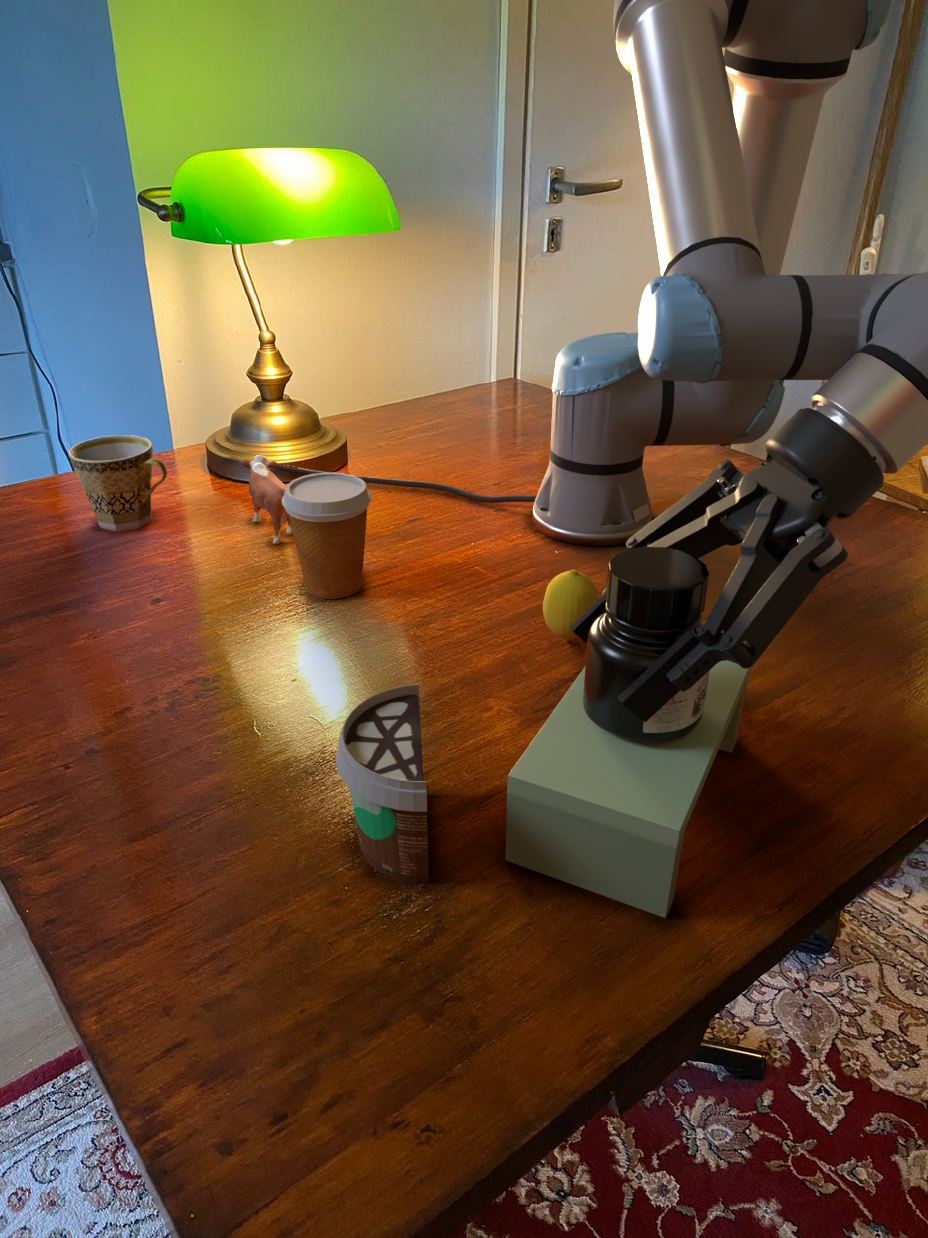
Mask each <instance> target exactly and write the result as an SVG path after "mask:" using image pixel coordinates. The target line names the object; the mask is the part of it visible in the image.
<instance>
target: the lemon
mask: <svg viewBox="0 0 928 1238" xmlns="http://www.w3.org/2000/svg"><path fill="white" fill-rule="evenodd" d="M598 598H599V595H598V590H597V587H596V585H595V583H594V582H593V580H592V579H591V578H590V577H588V575H586V574H585V573H582V572H579V571H578V570H577V569H570V570H566V571H564V572H561V573H559V574H558V575H555V576H554V578H552V579H551V580H550V581H549V583H548V585H547V588H546V590H545V594H544V597H543V602H542V613H543V617H544V621H545V624H546V626H547V627H548V629H549V630H550V631H551V632H552V633H553V634H554V635H555V636H557V637H558V638H559V637H560V638H562V639H564V640H565V641H567V642H572V641H573V640H575V639H578V638H579V639H580V637H578V636H577V635H576V634H575V633H574V632H572V630H571V629H570V626H571V625H572V624H573V623H574V622H575V621H576V620H577V619H578V618H579V617H580V616H581V615H582V614H583V613H584V612H585V611H586V610H587V609H588V608H589V607H590V606H591V605H592V604H593V603H594V602H595V601H596V600H597V599H598Z"/></svg>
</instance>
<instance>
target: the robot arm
mask: <svg viewBox="0 0 928 1238" xmlns="http://www.w3.org/2000/svg"><path fill="white" fill-rule="evenodd" d="M892 3H893V0H614V5H613V7H614V8H613V19H612V20H613V21H612V22H613V33H614V40H615V48H616V53H617V56H618V59H619V61H620V63H621V65H622V66H623V68H624V69H625V70H626V71H627V72H628V73H629V74H630V75H631V76H632V84H633V91H634V97H635V103H636V104H635V105H636V110H637V117H638V118H637V119H638V125H639V132H640V138H641V147H642V152H643V157H644V158H643V159H644V160H643V161H644V165H645V172H646V177H647V178H646V179H647V180H646V181H647V186H648V194H649V200H650V207H651V213H652V220H653V221H652V222H653V227H654V234H655V240H656V241H655V242H656V248H657V253H658V254H657V255H658V262H659V268H660V269H659V270H660V275H661V276H656V277H654V278H653V279H651V280H650V281H649V282H648V283H647V284H646V286H645V288H644V291H643V292H642V295H641V298H640V299H641V300H640V303H639V310H638V318H637V331H638V332H630V333H627V332H625V331H624V332H623V331H622V332H619V331H618V332H608V333H600V334H595V335H590V336H586V337H582V338H579V339H576V340H573V341H572V342H570V343H568V344H566V345H565V346H564V347H563V348H562V349H561V350H559V352H558V354H557V356H556V359H555V362H554V363H555V364H554V373H553V378H552V379H553V381H552V383H551V392H552V406H551V407H552V410H551V430H550V431H551V432H550V445H549V446H550V447H549V448H550V449H549V462H548V466H547V469H546V471H545V474H544V477H543V479H542V481H541V484H540V486H539V489H538V492H537V494H535V495H530V494H529V495H528V494H527V495H526V494H525V495H523V494H522V495H519V494H518V495H517V494H516V495H515V494H513V495H511V494H510V495H483V494H478V493H474V492H470V491H467V490H464V489H461V488H458V487H456V486H452V485H449V484H442V483H437V482H429V481H420V480H419V481H418V480H417V481H416V480H407V479H394V478H383V477H374V476H363V475H362V476H361V475H355V476H356V477H358V478H360V479H362V480H363V481H364V482H365V484H372V485H384V486H394V487H404V488H405V487H406V488H418V489H429V490H436V491H441V492H446V493H451V494H454V495H457V496H460V497H461V498H465V499H468V500H472V501H476V502H481V503H489V504H491V503H492V504H497V503H533V507H532V523H533V524H534V527H536V529H537V530H539V531H540V532H541V533H542V534H544V535H546V536H548V537H550V538H552V539H554V540H556V541H557V540H558V541H560V542H564V543H568V544H573V545H579V546H589V547H606V546H617V545H622V544H625V547H626V549H632V548H638V547H643V546H646V547H665V548H669V549H675V550H681V551H683V552H685V553H688V554H690V555H693V556H696V557H697V558H698V559H699V560H700V558H703V557H705V556H706V555H708V554H710V553H712V552H715V551H717V550H718V549H720V548H722V547H724V546H731V547H735V546H737V545H739V544H741V545H740V552H741V556H740V557H739V559H738V561H737V563H736V565H735V567H734V569H733V571H732V573H731V575H730V576H729V578H728V580H727V581H726V584H725V585H724V587H723V589H722V591H721V592H720V595H719V596H718V598H717V600H716V602H715V604H714V606H713V608H712V609H711V611H710V613H709V615H708V617H707V619H706V620H705V623H704V624H703V625H704V626H703V628H697V627H696V628H695V627H693V629H692V633H693V634H692V633H691V632H690V631H689V630H688V631H687V632H686V633H685V634H684V635H683V636H682V637H681V638H680V639H679V640H678V641H677V642H675V643H674V644H673V645H672V646H671V647H670V648H669V649H668V650H667V651H666V652H665V653H664V654H663V655H662V656H661V657H660V658H659V659H657V660H656V661H655V662H654V663H653V664H652V665H651V666H650V667H649V668H648V669H647V670H646V671H645V672H644V673H643V674H642V675H640V676H639V677H638V678H637V679H636V680H635V681H634V682H633V683H632V684H631V685H630V686H629V687H628V688H627V689H626V690H625V691H624V692H622V693H621V694H620V695H619V696H618V699H619V700H620V702H621V703H622V704H623V705H624V706H625V707H627V708H628V709H629V710H630V711H632V712H633V713H634V714H635V715H637V716H638V717H639V718H640V719H642V720H643V721H644V722H645V723H646V722H647V721H648V720H649V719H650V718H651V717H652V716H653V715H654V714H655V713H656V712H657V711H658V710H660V709H661V708H662V707H663V706H664V705H665V704H666V703H667V702H668V701H669V700H670V699H671V698H673V697H674V696H675V695H676V694H677V693H678V692H679V691H680V690H681V691H682V692H684V691H686V690H688V689H690V688H691V687H692V686H693V685H694V684H695V683H696V682H698V681H699V680H700V678H702V677H703V676H704V675H705V674H706V673H707V672H708V671H709V670H711V669H712V668H713V667H714V666H715V665H716V664H717V663H719V662H720V661H726V660H727V661H731V662H733V663H736V664H738V665H740V666H741V667H742V668H744V669H747V668H750V669H751V667H753V666H754V665H755V664H756V662H757V661H758V660H759V659H760V658H761V656H762V655H763V654H764V653H765V651H766V650H767V648H769V647H770V645H771V643H772V642H773V641H774V640H775V638H776V637H777V636H778V635H779V633H780V632H781V631H782V630H783V628H784V627H785V626H786V625H787V623H788V622H789V621H790V620H791V618H792V617H793V616H794V614H795V613H796V612H797V611H798V609H799V608H800V607H801V605H802V604H803V603H804V601H806V599H807V598H808V597H809V596H810V594H811V593H812V591H813V590H815V588H816V587H817V585H818V584H819V583H820V581H821V580H822V579H824V577H826V576H827V575H828V574H830V573H831V572H833V571H834V570H835V569H836V568H838V567H839V566H840V565H842V564H843V563H844V562H845V561H846V560H847V558H848V556H849V553H848V550H847V549H846V548H845V546H844V545H843V544H842V543H841V542H840V541H839V540H838V538H837V537H836V536H835V535H834V534H833V533H832V531H831V530H830V529H829V525H830V523H831V522H832V520H833V519H834V518H836V519H840V520H844V519H848V518H850V517H851V516H853V515H854V513H856V512H857V511H858V510H859V509H860V508H861V507H862V506H864V504H865V503H867V501H868V500H870V499H871V498H872V497H873V496H874V495H875V494H876V493H878V491H879V490H880V489H881V488H883V487H884V481H885V476H884V474H886V475H888V474H889V475H890V474H891V475H892V474H897V473H898V472H900V470H901V469H902V468H903V467H904V466H905V465H906V464H907V463H909V462H910V461H911V460H912V459H913V458H914V457H915V456H916V455H917V454H918V453H919V452H920V451H921V450H922V449H923V448H925V447H926V445H928V271H924V272H920V273H919V272H918V273H885V272H884V273H882V274H881V273H879V274H874V273H866V274H814V275H813V274H812V275H810V274H808V275H807V274H806V275H800V274H781V272H782V269H783V264H784V261H785V256H786V253H787V249H788V248H787V247H788V245H789V240H790V236H791V231H792V228H793V224H794V221H795V215H796V212H797V208H798V204H799V200H800V196H801V192H802V187H803V184H804V179H805V175H806V171H807V166H808V163H809V159H810V155H811V151H812V147H813V143H814V139H815V135H816V130H817V127H818V123H819V120H820V119H819V118H820V114H821V110H822V106H823V102H824V98H825V95H826V94H827V93H828V91H829V90H830V89H831V88H832V87H833V86H835V85H836V84H838V83H839V82H840V81H842V80H843V79H844V78H845V77H846V76H847V73H848V69H849V66H850V63H851V58H852V54H853V52H854V51H861V50H863V49H864V48H866V47H869V46H871V45H872V44H873V43H874V42H875V41H876V40H877V39H878V37H879V36H880V33H881V29H882V28H883V27H884V26H885V24H886V22H887V19H888V17H889V14H890V10H891V7H892ZM723 49H724V52H723ZM729 79H730V81H731V82H732V84H733V93H731V89H730V83H729ZM785 381H826V382H825V383H824V384H822V386H820V387H819V389H817V390H816V392H814V393H813V394H812V395H811V404H810V406H811V407H812V408H811V407H805V408H799V409H798V410H797V411H796V412H795V413H794V414H793V415H792V416H791V417H790V418H789V419H788V420H787V421H786V422H785V423H784V424H783V425H782V426H781V427H779V429H778V430H777V431H775V433H773V434H772V436H771V437H769V439H767V441H766V442H765V451H766V458H765V460H764V461H763V462H762V463H761V464H759V465H758V466H756V467H755V468H753V469H750V470H749V471H747V472H745V471H742V470H741V469H738V466H736V465H735V464H734V463H733V461H732V460H730V459H724V460H722V461H721V462H720V463H719V464H718V465H716V467H715V468H714V469H713V470H712V471H711V472H710V473H709V475H708V476H707V477H706V478H705V479H704V481H702V482H701V483H700V484H698V485H697V486H696V487H694V488H693V489H692V490H690V491H689V492H687V494H685V495H684V496H682V497H681V498H680V499H678V500H677V501H676V502H675V503H674V504H672V505H671V506H669V508H667V509H666V510H664V511H663V512H662V513H660V514H659V515H658V516H656V517H655V518H654V519H653V520H652V516H653V511H652V506H651V501H650V496H649V492H648V488H647V484H646V478H645V475H644V470H643V465H644V464H643V463H644V455H645V450H646V447H670V446H672V447H675V446H677V447H678V446H717V447H729V446H732V445H743V444H744V445H745V444H751V443H754V442H755V441H757V440H759V439H761V438H763V437H764V436H765V435H766V434H767V433H768V432H769V431H770V429H771V428H772V426H773V425H774V423H775V421H776V419H777V418H778V415H779V412H780V410H781V407H782V404H783V401H784V396H785V392H786V387H785V385H784V383H785ZM297 468H298V469H295V468H290V467H285V466H281V465H277V467H275V468H273V470H274V469H275V470H279V471H282V472H288V473H293V474H297V475H303V476H306V475H311V474H317V473H330V472H328V471H321V470H314V469H308V468H304V467H303V468H302V467H297ZM647 543H649V544H647ZM605 598H606V587H604V590H603V591H602V593H601V595H600V596H598V599H597V600H596V601H595V602H594V603H593V604H592V605H591V606H590V607H589V608H588V609H587V610H586V611H585V612H584V613H583V614H582V615H581V616H580V617H579V618H578V619H577V620H576V621H575V622H574V623H573V624H572V625H571V626H570V629H571V630H572V632H574V633H575V634H576V635H577V636H578V637H579V639H581V640H582V641H583V642H584V643H586V644H587V640H588V633H589V630H590V628H591V626H592V624H593V623H594V621H595V620H596V619H597V618H598V617H599V616H601V615H602V614H603V613H605V612H606V611H605V605H606V599H605ZM744 642H746V643H744Z"/></svg>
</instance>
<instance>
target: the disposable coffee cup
mask: <svg viewBox="0 0 928 1238" xmlns="http://www.w3.org/2000/svg"><path fill="white" fill-rule="evenodd" d="M356 476H357V475H353V474H349V473H343V472H329V473H317V474H311V475H303V476H300V477H298V478H294V479H293V480H291V481H290V482H289V483H287V484H286V488H285V495H284V496H283V498H282V505H283V506H284V508H285V509H286V512H287V513H288V516H289V519H290V524H291V528H292V532H293V534H292V536H293V540H294V544H295V548H296V552H297V556H298V561H299V565H300V569H301V573H302V577H303V581H304V586H305V590H306V592H307V593H308V594H309V595H311V596H313V597H315V598H319V599H326V600H335V599H337V600H338V599H343V598H347V597H350V596H352V595H354V594H356V593H357V592H359V590H361V588H362V585H363V572H364V560H365V546H366V545H365V544H366V532H367V520H368V519H367V518H368V508H369V507H370V506H369V505H370V503H371V500H372V494H371V492H370V491H369V490H368V488H367V483H365V482H364V481H363V480H362V479H360V478H358V477H356Z"/></svg>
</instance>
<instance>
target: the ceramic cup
mask: <svg viewBox="0 0 928 1238" xmlns="http://www.w3.org/2000/svg"><path fill="white" fill-rule="evenodd" d="M153 447H154V446H153V442H152V441H151V440H150V439H149V438H146V437H145V436H144V437H143V436H139V435H131V434H113V435H104V436H98V437H94V438H90V439H87V440H83V441H81V442H78V443H76V444H75V445H73V446H72V447H70V449H69V450H68V452H67V454H68V457H69V460H70V462H71V465H72V468H73V470H74V471H75V474H76V477H77V479H78V481H79V483H80V485H81V486H82V489H83V490H84V492H85V494H86V497H87V500H88V502H89V504H90V507H91V509H92V512H93V514H94V517H95V519H96V521H97V523H98V526H99V527H100V528H101V529H104V530H108V531H113V532H122V531H129V530H135V529H140V528H141V527H143V526H146V525H147V524H149V523H150V522H152V493H154V491H155V490H156V488H157V487H158V486H159V485H161V484H162V483H163V482H165V480H166V478H167V476H168V471H167V468H166V466H165V464H164V462H162V461H161V459H158V458H154V448H153ZM154 466H157V467H158V468H159V469H160V470H161V474H162V475H161V478H160V479H159V480H158V481H156V482H155V483H153V485H152V480H153V479H152V478H153V467H154Z"/></svg>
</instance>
